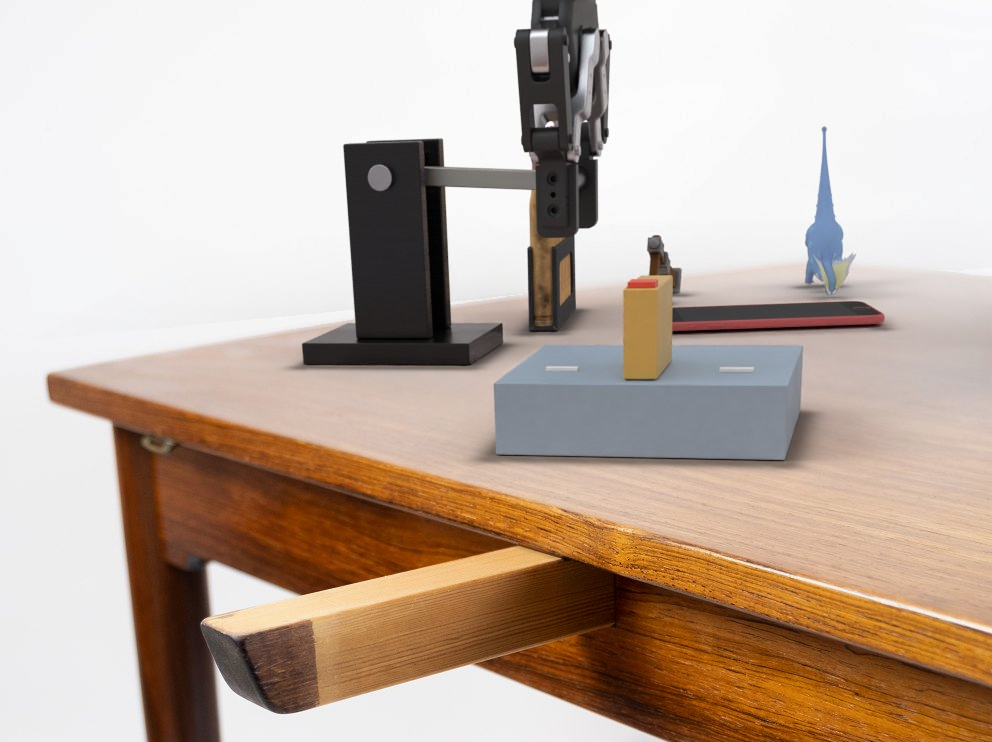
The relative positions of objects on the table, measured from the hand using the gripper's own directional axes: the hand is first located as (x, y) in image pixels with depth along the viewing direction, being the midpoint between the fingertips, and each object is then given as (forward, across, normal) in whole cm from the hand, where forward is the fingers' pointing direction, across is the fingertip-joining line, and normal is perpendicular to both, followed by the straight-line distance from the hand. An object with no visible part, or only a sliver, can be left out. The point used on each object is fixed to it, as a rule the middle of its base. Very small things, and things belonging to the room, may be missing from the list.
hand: (568, 230), depth 85 cm
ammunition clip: (+7, +14, +4) cm, 16 cm away
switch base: (+7, -21, -8) cm, 23 cm away
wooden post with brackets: (+7, +24, -2) cm, 25 cm away
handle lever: (-2, 0, +5) cm, 6 cm away
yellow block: (+4, -23, -8) cm, 25 cm away
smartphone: (+7, +12, -10) cm, 17 cm away
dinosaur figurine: (+7, +29, -13) cm, 33 cm away
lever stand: (+7, 0, +10) cm, 12 cm away
